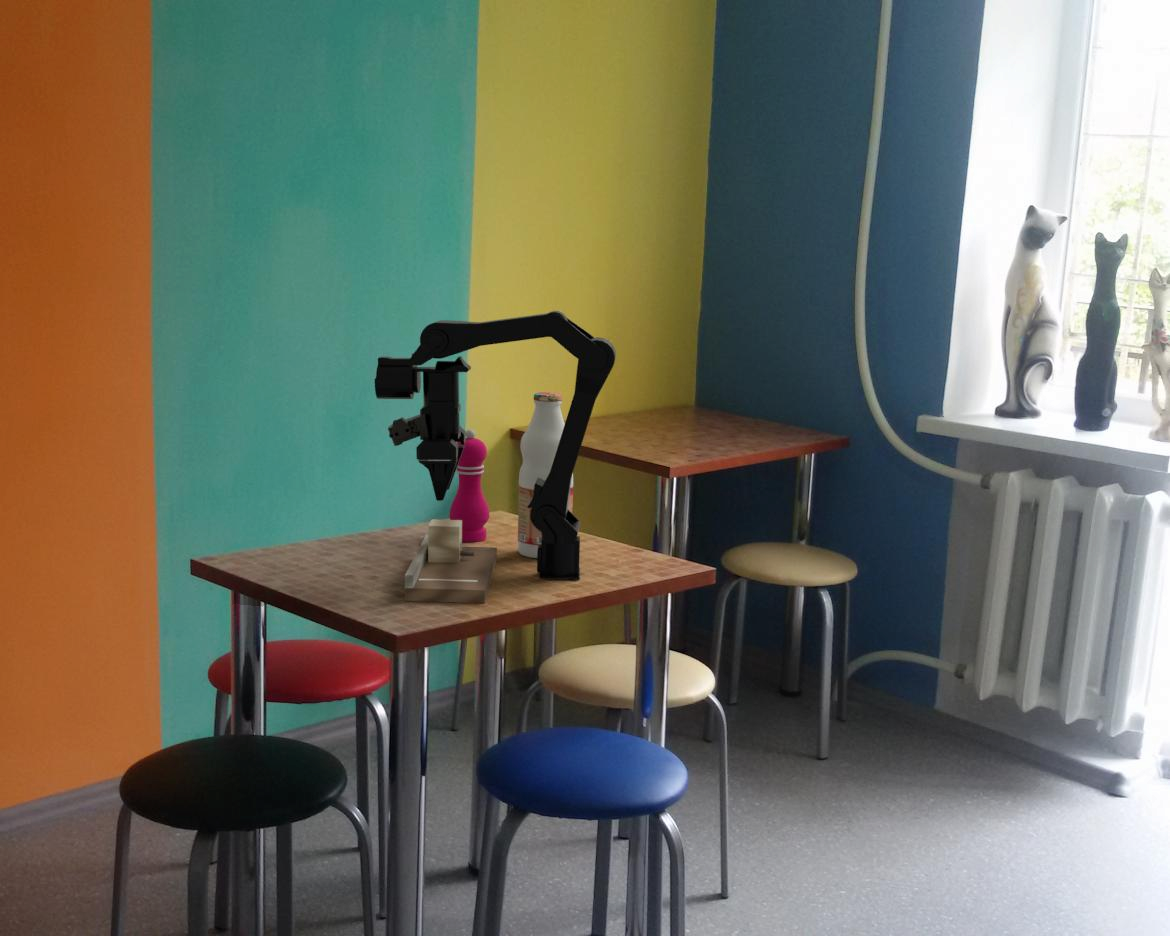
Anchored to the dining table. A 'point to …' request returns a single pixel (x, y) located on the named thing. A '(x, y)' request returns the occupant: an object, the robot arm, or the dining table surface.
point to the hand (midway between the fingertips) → (442, 494)
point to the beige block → (445, 541)
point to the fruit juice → (538, 464)
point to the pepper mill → (471, 491)
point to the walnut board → (450, 576)
